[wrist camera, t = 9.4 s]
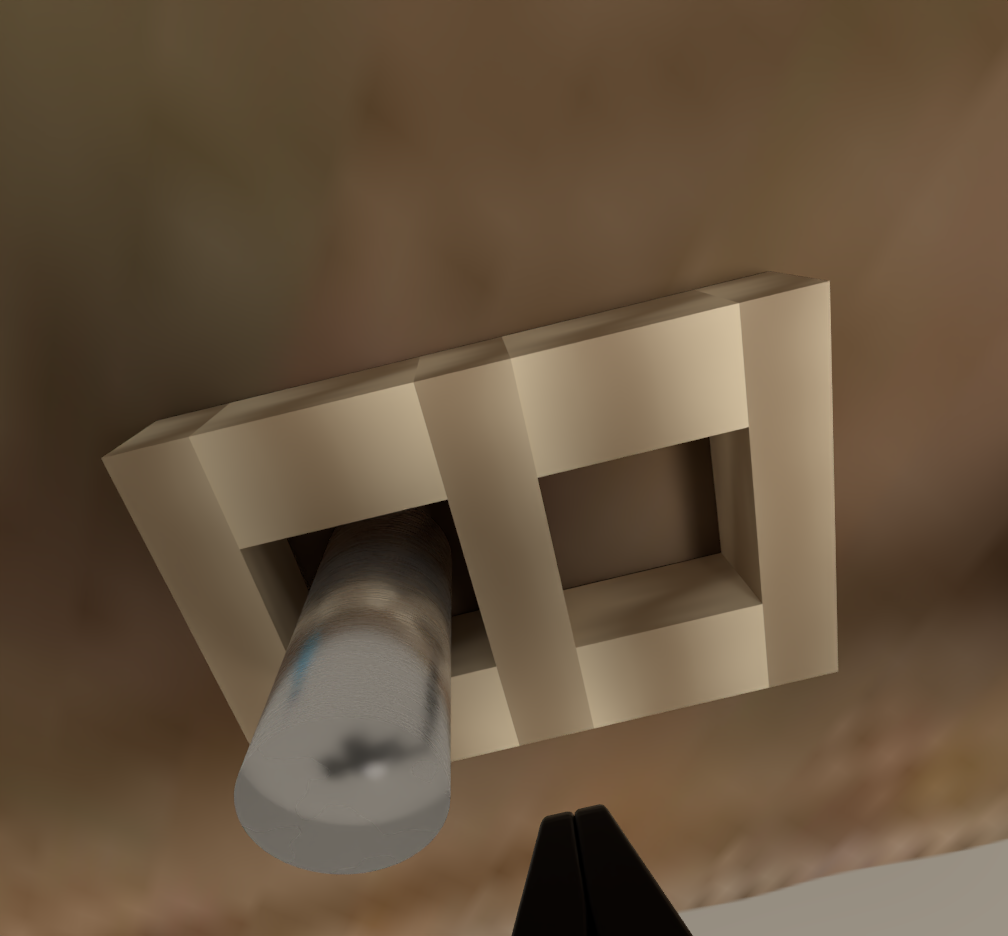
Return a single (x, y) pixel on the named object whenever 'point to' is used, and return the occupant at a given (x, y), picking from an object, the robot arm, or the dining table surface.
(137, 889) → the dining table surface
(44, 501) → the dining table surface
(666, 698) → the frame
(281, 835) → the grey cylinder
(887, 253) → the dining table surface
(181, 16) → the dining table surface
